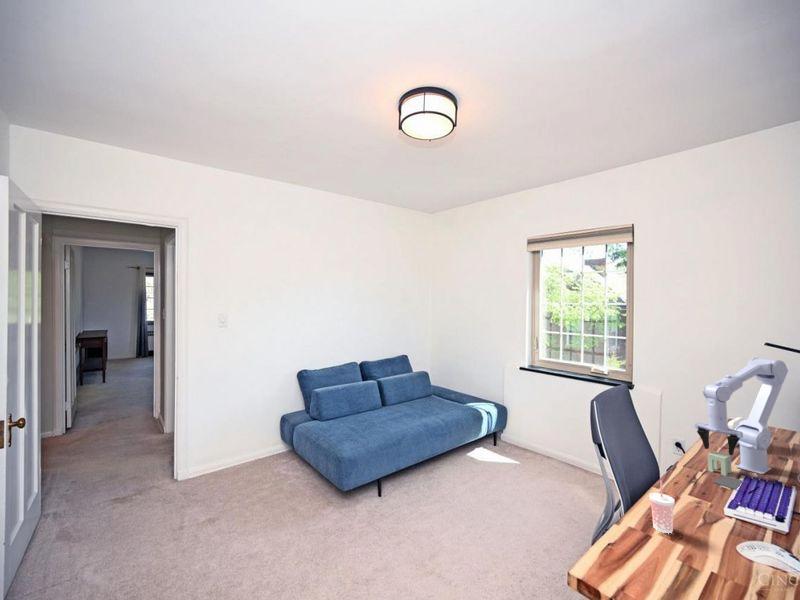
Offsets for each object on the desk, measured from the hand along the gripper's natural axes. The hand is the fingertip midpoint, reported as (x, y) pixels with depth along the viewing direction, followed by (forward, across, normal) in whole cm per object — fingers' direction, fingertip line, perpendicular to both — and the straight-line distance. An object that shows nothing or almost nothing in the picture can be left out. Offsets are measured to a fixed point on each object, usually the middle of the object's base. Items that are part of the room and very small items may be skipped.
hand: (718, 451), depth 147 cm
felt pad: (+8, +8, -8) cm, 14 cm away
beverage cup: (+8, +7, -60) cm, 61 cm away
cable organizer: (+8, -4, +44) cm, 44 cm away
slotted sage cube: (+8, 0, 0) cm, 8 cm away
